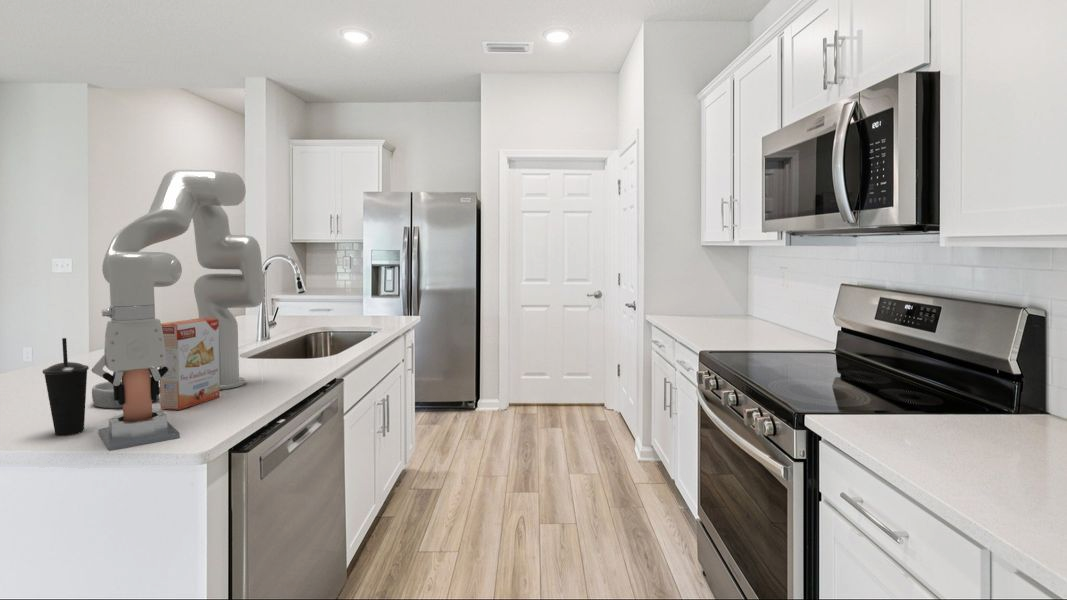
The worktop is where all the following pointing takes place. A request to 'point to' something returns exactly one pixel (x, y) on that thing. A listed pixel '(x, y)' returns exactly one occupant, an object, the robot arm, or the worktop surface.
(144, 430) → the ring block
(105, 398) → the dish
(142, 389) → the cylinder
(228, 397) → the worktop surface
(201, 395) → the cracker box
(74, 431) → the drinking cup
